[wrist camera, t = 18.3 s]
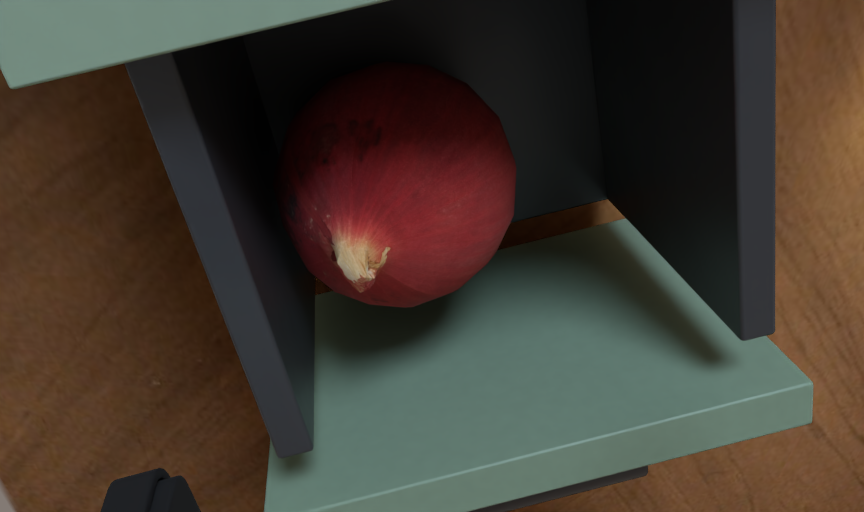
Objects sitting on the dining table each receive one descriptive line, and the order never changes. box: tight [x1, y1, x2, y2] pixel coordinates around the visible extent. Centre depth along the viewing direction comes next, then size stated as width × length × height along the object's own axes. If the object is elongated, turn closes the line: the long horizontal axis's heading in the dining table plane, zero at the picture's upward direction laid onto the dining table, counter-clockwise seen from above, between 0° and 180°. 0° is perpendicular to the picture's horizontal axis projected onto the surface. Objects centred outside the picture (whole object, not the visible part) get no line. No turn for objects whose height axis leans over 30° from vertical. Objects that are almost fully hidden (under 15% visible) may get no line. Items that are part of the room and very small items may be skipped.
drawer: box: [124, 0, 813, 512], centre depth 19 cm, size 19×12×10 cm, turn 12°
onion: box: [273, 62, 516, 308], centre depth 18 cm, size 6×6×8 cm
